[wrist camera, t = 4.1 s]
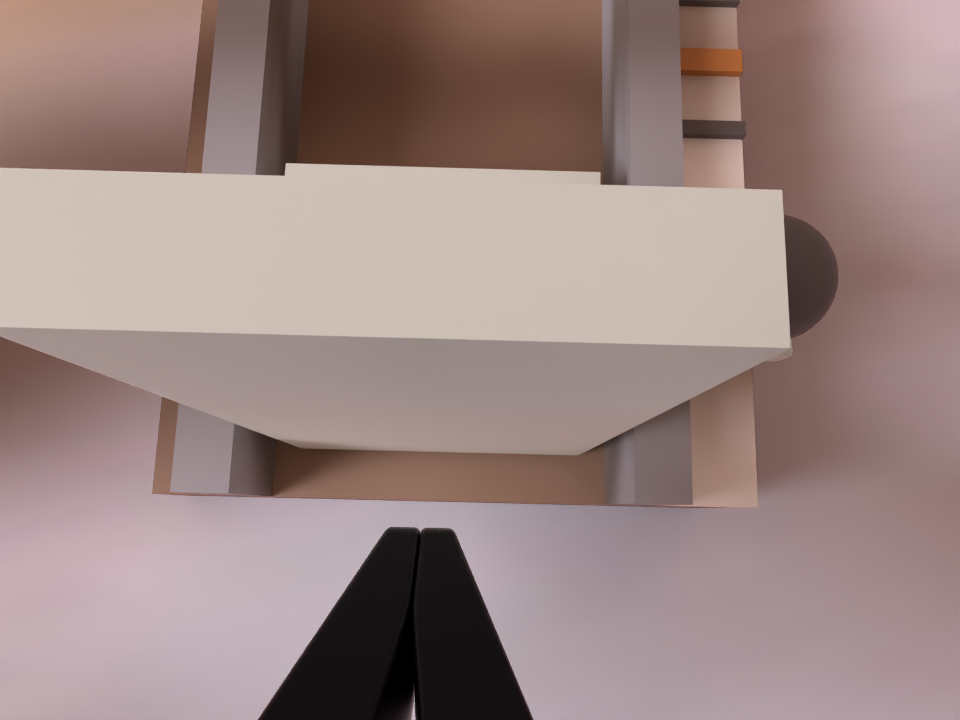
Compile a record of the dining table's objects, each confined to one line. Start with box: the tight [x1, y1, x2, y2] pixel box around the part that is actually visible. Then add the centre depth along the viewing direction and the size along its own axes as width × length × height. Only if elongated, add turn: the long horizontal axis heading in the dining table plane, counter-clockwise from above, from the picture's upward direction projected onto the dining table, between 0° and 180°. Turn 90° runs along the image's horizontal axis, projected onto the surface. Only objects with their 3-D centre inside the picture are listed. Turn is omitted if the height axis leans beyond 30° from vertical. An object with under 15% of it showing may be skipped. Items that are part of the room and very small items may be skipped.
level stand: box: [152, 0, 758, 508], centre depth 18 cm, size 18×12×5 cm, turn 179°
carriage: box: [0, 163, 838, 455], centre depth 11 cm, size 5×9×11 cm, turn 89°
